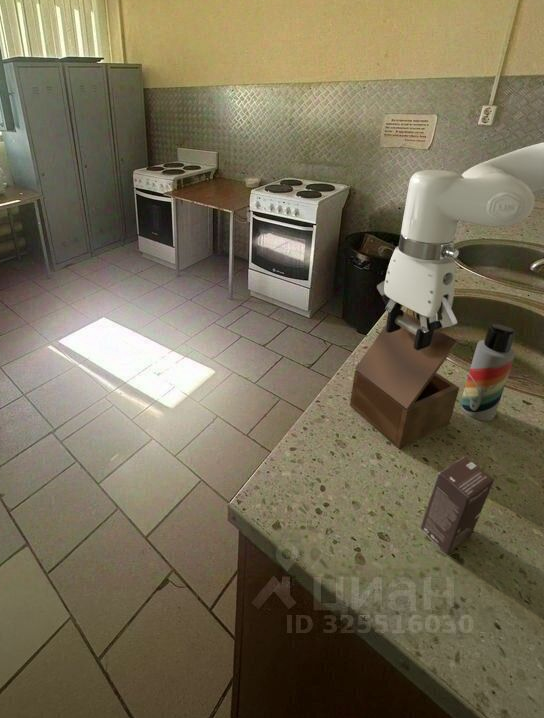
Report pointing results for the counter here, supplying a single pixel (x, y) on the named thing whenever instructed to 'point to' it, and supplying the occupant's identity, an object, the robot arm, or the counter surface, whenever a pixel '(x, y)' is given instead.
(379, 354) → the lid
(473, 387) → the lotion bottle
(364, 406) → the chest
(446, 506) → the box
